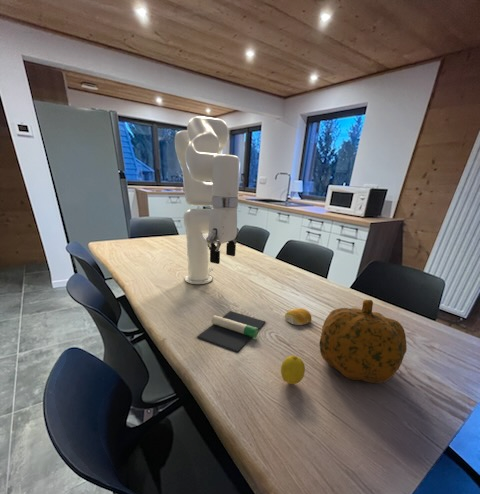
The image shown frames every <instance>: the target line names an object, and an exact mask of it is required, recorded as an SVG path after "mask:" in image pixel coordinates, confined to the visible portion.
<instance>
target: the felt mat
mask: <svg viewBox="0 0 480 494" xmlns="http://www.w3.org/2000/svg"><path fill="white" fill-rule="evenodd" d="M222 317H223V318H226V319H229V320H232V321H236V322H239V323H242V324H245V325H250V326H253V327H256V328H258V329H259V330H260V329H262V327H263V326H264V325H265V324H266V321H265V320H262V319H258V318H256V317H252V316H248V315H245V314H242V313H238V312H235V311H232V310H230V311H228V312H227V313H226V314H224V315H223V316H222ZM197 338H198V339H200V340H202V341H205V342H209V343H211V344H214V345H216V346H219V347H222V348H224V349H227V350H230V351H233V352H236V353H238V352H240V351H241V350H242V349H243V347H244V346H245V345H247V343H248V342H249V341H250V340H251V339H252V338H253V337H250V336H247V335H244V334H242V333H239V332H236V331H233V330H230V329H227V328H223V327H220V326H217V325H214V324H211V325H210V326H209V327H208V328H207V329H204V330H203V332H201V333H200V334H199V335H197Z"/></svg>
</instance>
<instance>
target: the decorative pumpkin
mask: <svg viewBox="0 0 480 494" xmlns="http://www.w3.org/2000/svg"><path fill="white" fill-rule="evenodd" d="M373 306H374V301H373V300H372V299H364V300H363V301H362V307H361V308H357V307H356V308H354V307H350V308H348V307H339V308H336V309H333V310H331V311H330V313H329V314H328V315H327V317H326V318H325V320H324V321H323V324H322V327H321V335H320V338H319V343H318V344H319V352H320V355H321V357H322V359H323V360H324V361H325V362H326V363H328V364H329V365H330V366H331V367H333V368H334V369H335V370H337V371H339V372H340V374H342V375H343V376H344V377H345V378H347V379H349V380H352V381H353V380H354V381H356V380H357V381H364V382H367V383H371V384H380V383H384V382H387V381H388V380H390V379H391V378H392V377H393V376H394V375H395V374H396V373H397V371H398V370H399V369H400V368H401V365H402V362H403V360H404V357H405V354H406V352H407V347H408V346H407V336H406V332H405V329H404V327H403V325H402V324H401V323H400V322H399V321H398V320H395V319H392V318H389V317H386V316H384V315H383V314H381V313H379V312H375V311H373Z"/></svg>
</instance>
